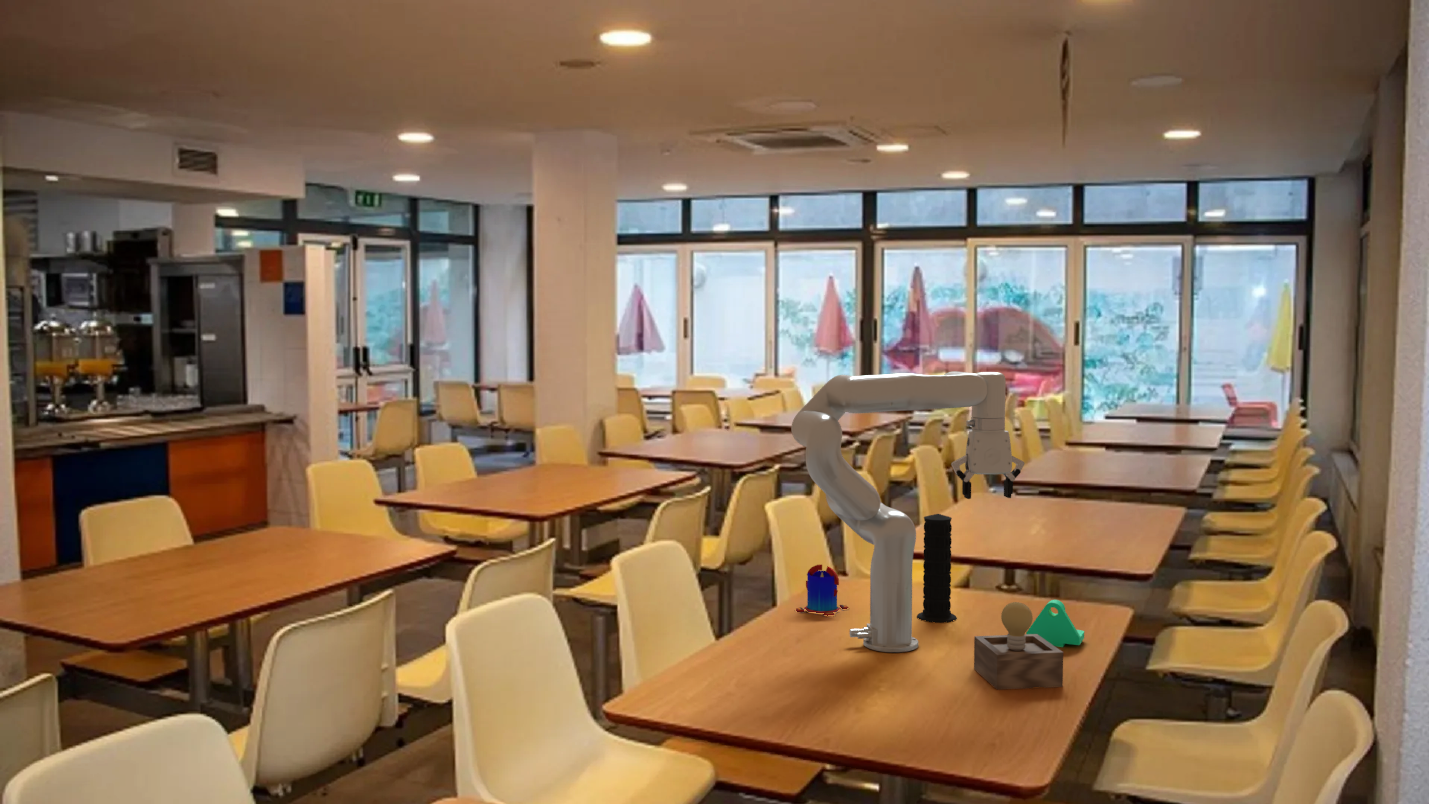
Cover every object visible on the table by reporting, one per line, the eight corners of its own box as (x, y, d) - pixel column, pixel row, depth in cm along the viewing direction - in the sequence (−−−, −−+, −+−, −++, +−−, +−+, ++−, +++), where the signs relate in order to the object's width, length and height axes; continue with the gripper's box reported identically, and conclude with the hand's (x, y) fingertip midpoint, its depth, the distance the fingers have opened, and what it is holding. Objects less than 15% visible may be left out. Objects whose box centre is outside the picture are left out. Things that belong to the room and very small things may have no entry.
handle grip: (941, 611, 307) (908, 615, 303) (942, 509, 305) (909, 512, 301) (965, 620, 298) (931, 624, 294) (966, 515, 296) (932, 518, 292)
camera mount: (1084, 641, 279) (1085, 598, 278) (1079, 649, 272) (1080, 605, 271) (1032, 635, 284) (1033, 593, 283) (1026, 643, 277) (1026, 600, 277)
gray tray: (996, 689, 243) (997, 654, 243) (974, 669, 257) (974, 636, 257) (1062, 686, 245) (1063, 652, 244) (1036, 666, 259) (1037, 634, 258)
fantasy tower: (852, 608, 310) (853, 562, 310) (832, 618, 300) (832, 571, 300) (812, 602, 317) (812, 558, 316) (791, 612, 307) (791, 566, 306)
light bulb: (1032, 654, 247) (1034, 607, 246) (1001, 652, 248) (1002, 605, 247) (1030, 646, 253) (1031, 599, 252) (999, 644, 254) (1000, 598, 254)
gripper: (957, 427, 274) (956, 501, 275) (1030, 425, 275) (1029, 499, 277) (947, 424, 281) (946, 496, 282) (1018, 422, 283) (1017, 494, 284)
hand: (987, 497), depth 280 cm, fingers open, 9 cm apart
